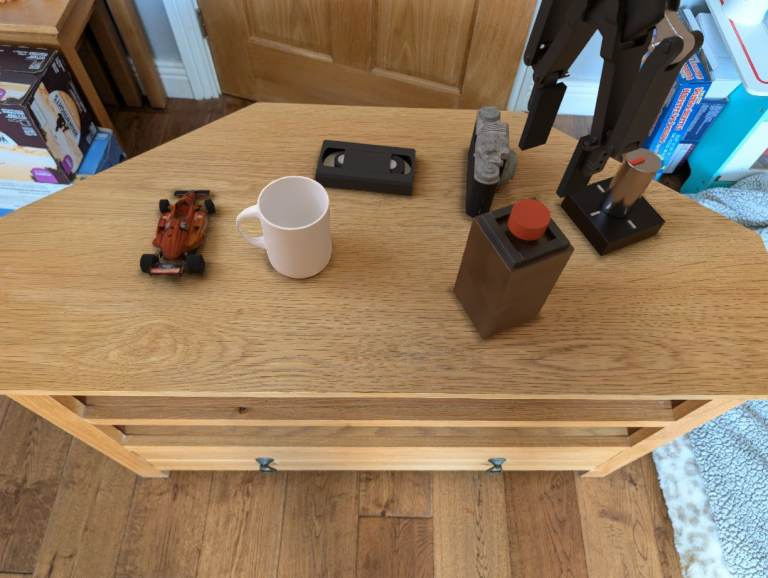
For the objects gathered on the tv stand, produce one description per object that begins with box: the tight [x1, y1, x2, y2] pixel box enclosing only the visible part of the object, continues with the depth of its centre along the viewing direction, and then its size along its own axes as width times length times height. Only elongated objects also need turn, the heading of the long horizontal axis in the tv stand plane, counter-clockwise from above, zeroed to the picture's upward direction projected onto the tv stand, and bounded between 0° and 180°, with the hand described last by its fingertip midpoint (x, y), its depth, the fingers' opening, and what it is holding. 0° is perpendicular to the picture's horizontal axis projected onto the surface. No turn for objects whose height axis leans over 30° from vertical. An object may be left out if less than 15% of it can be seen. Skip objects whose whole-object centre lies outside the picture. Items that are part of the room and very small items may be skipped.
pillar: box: [452, 196, 575, 341], centre depth 66 cm, size 8×8×16 cm
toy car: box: [139, 189, 217, 277], centre depth 75 cm, size 8×16×4 cm, turn 0°
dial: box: [601, 147, 662, 218], centre depth 75 cm, size 4×4×9 cm
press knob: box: [508, 198, 552, 240], centre depth 58 cm, size 4×4×2 cm
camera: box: [464, 105, 519, 219], centre depth 80 cm, size 15×7×10 cm, turn 173°
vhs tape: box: [314, 139, 417, 197], centre depth 84 cm, size 14×8×2 cm, turn 84°
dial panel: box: [560, 175, 667, 257], centre depth 80 cm, size 10×10×3 cm
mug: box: [235, 175, 333, 279], centre depth 71 cm, size 9×12×11 cm
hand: (550, 167), depth 52 cm, fingers open, 6 cm apart
